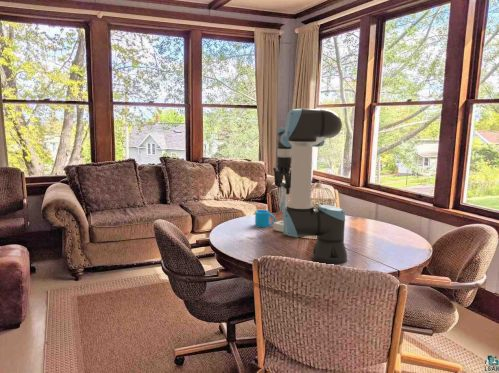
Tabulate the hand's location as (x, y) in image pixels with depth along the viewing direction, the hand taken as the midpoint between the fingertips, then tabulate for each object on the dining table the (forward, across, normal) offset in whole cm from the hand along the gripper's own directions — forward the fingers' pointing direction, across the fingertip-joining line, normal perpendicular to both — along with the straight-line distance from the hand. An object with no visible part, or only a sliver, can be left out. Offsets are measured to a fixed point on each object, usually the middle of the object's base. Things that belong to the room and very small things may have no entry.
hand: (283, 199), depth 224 cm
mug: (+17, +13, -1) cm, 22 cm away
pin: (+6, 0, 0) cm, 6 cm away
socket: (+17, -10, +2) cm, 20 cm away
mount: (+17, 0, 0) cm, 17 cm away
